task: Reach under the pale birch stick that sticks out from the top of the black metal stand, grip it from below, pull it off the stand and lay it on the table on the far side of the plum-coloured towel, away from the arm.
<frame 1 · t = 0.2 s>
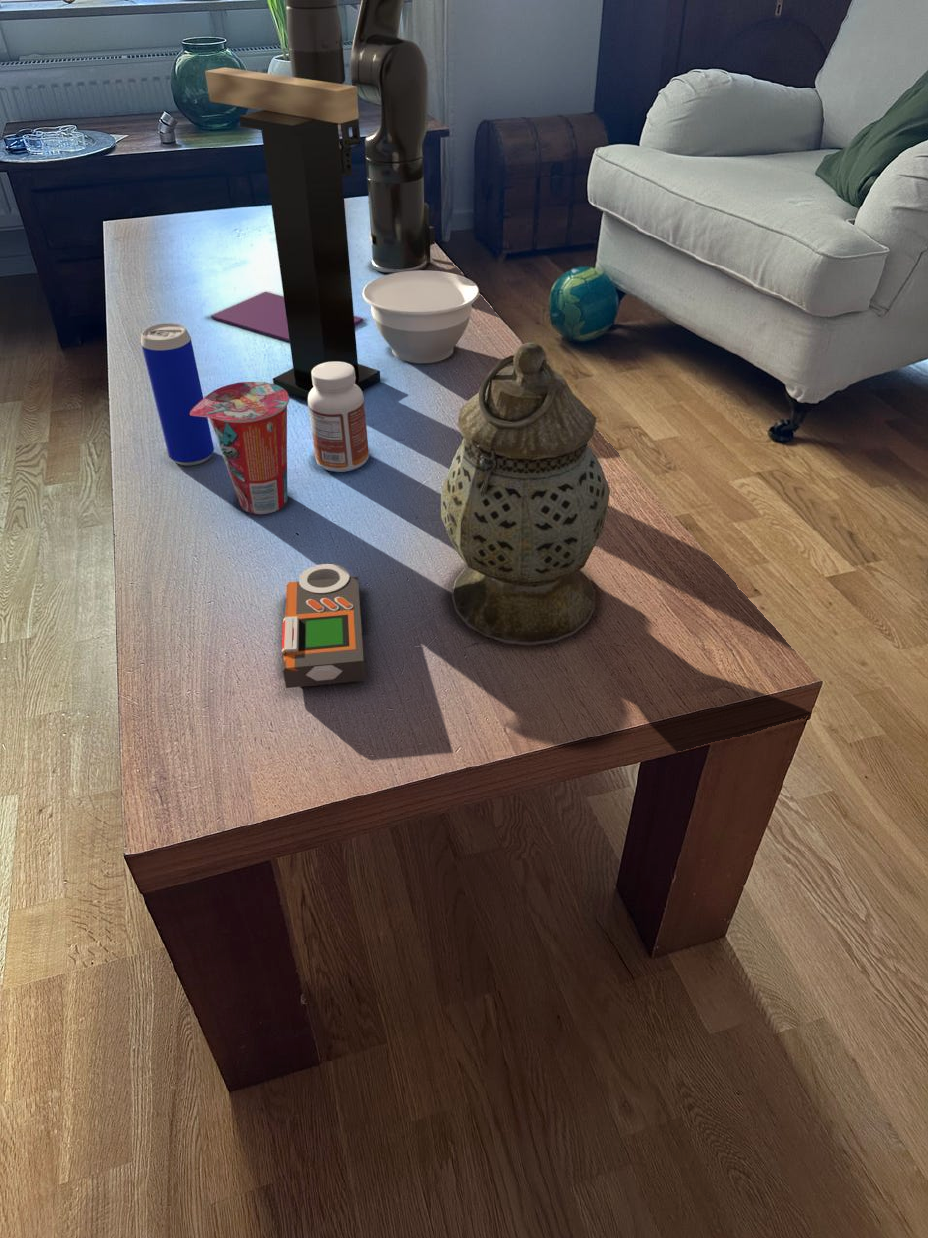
hand: (327, 170, 134), 17 cm above the table, tool pointing down, fingers open, 8 cm apart
stand: (327, 385, 117), on the table
bowl: (422, 351, 126), on the table
beverage can: (192, 457, 103), on the table
pill bottle: (342, 461, 103), on the table
electronic device: (326, 634, 79), on the table
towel: (286, 319, 134), on the table
cup: (261, 504, 96), on the table
lantern: (520, 601, 83), on the table
birch stick: (281, 109, 98), point 32 cm above the table, touching stand
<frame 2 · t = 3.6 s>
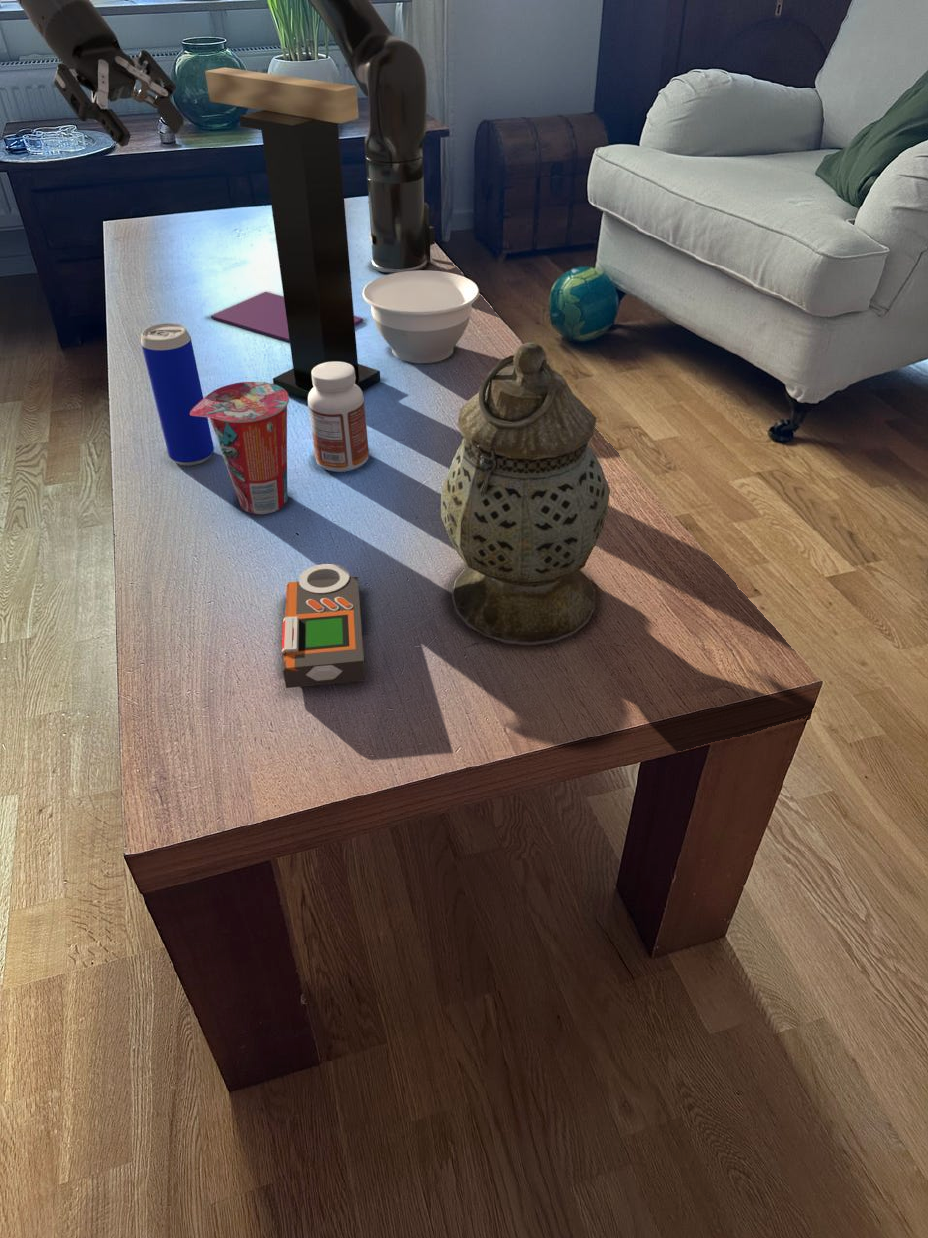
hand: (154, 134, 112), 27 cm above the table, tool tilted 45°, fingers open, 8 cm apart
nothing on the table moved.
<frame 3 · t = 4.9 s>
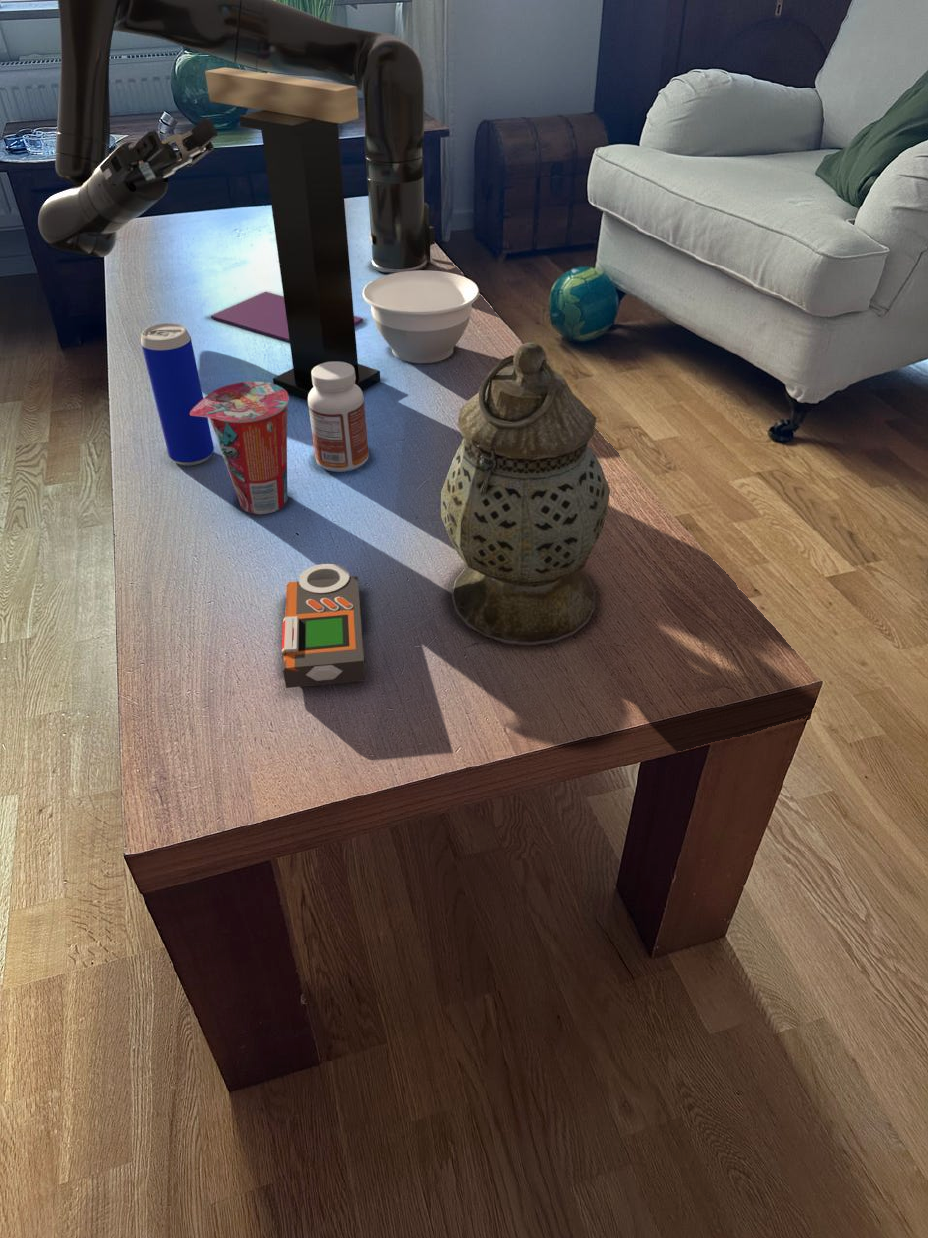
hand: (185, 132, 108), 28 cm above the table, tool pointing upward, fingers open, 8 cm apart
nothing on the table moved.
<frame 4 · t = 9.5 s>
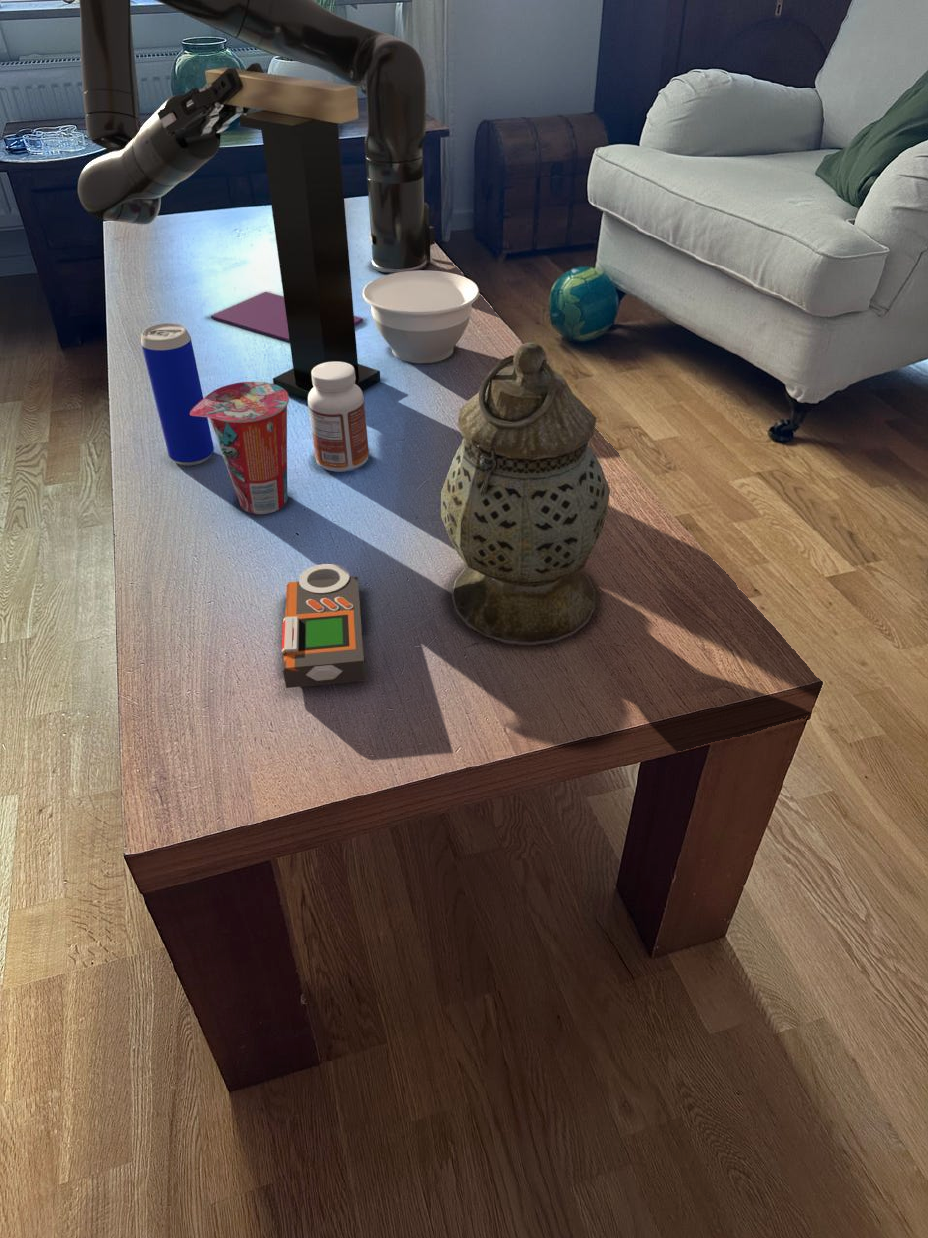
hand: (248, 74, 98), 35 cm above the table, tool pointing upward, fingers closed on birch stick, 3 cm apart
birch stick: (281, 109, 98), point 32 cm above the table, touching gripper, stand
everything else where it was.
when the fingers open (7 cm above the table, at t = 20.4 s): birch stick drops 3 cm, on the table.
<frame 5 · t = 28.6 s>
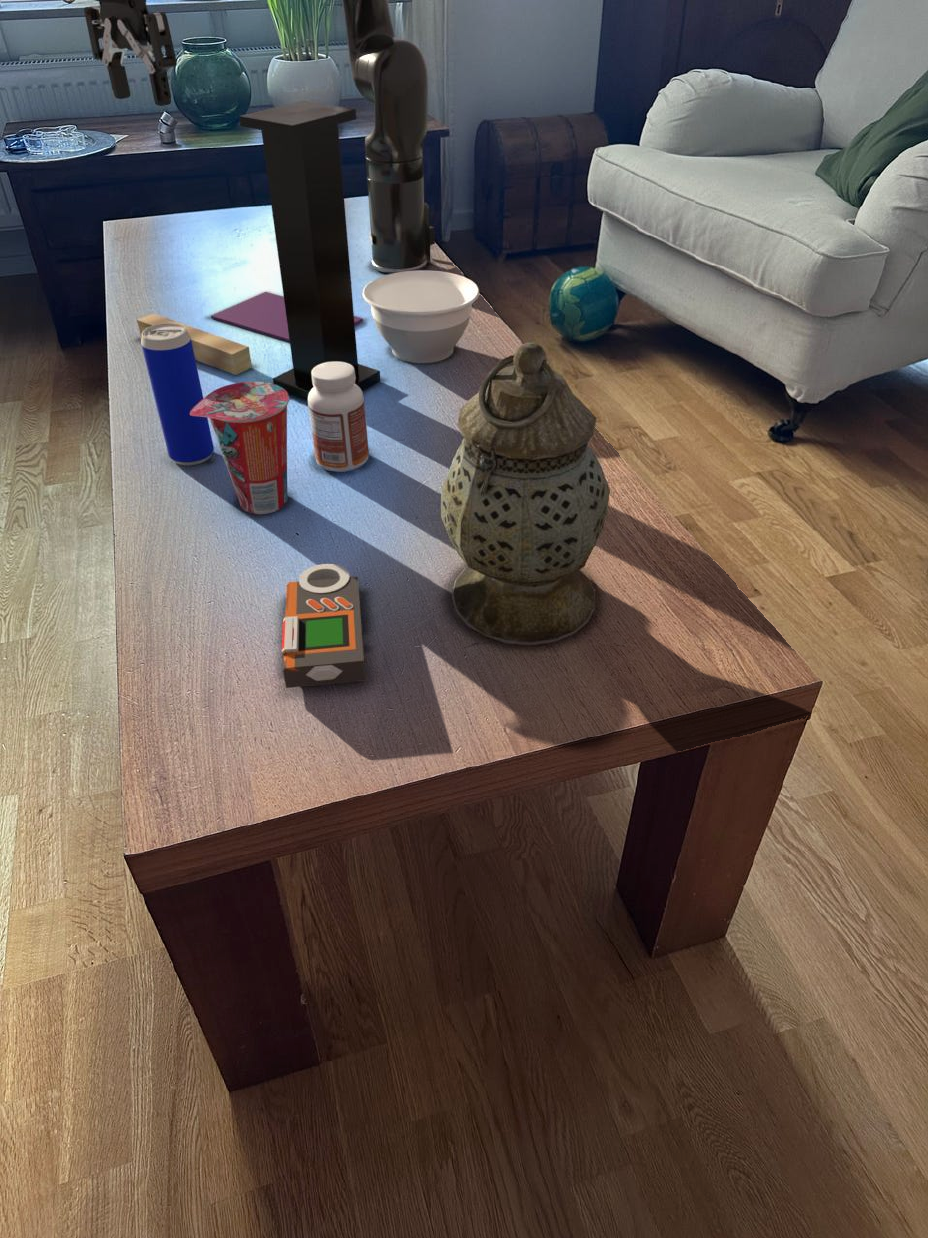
hand: (142, 101, 121), 28 cm above the table, tool pointing down, fingers open, 8 cm apart
birch stick: (195, 353, 125), on the table
everything else where it was.
at the end: birch stick inside the target area on the table beside the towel (3.5 cm from its centre), on the table; birch stick touching table; the gripper is holding nothing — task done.
